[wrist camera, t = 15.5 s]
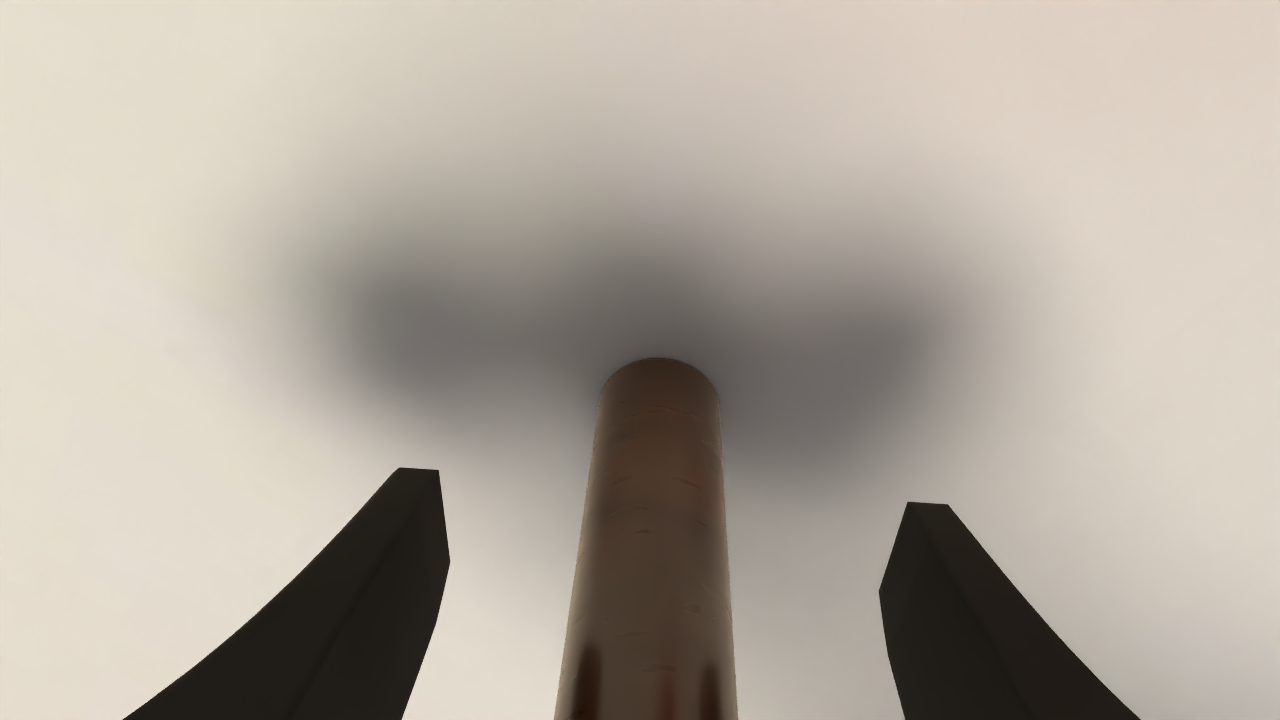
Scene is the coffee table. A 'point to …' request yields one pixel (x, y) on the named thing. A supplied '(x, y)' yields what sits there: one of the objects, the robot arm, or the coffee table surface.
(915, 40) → the coffee table surface
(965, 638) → the robot arm
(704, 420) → the brown cylinder
